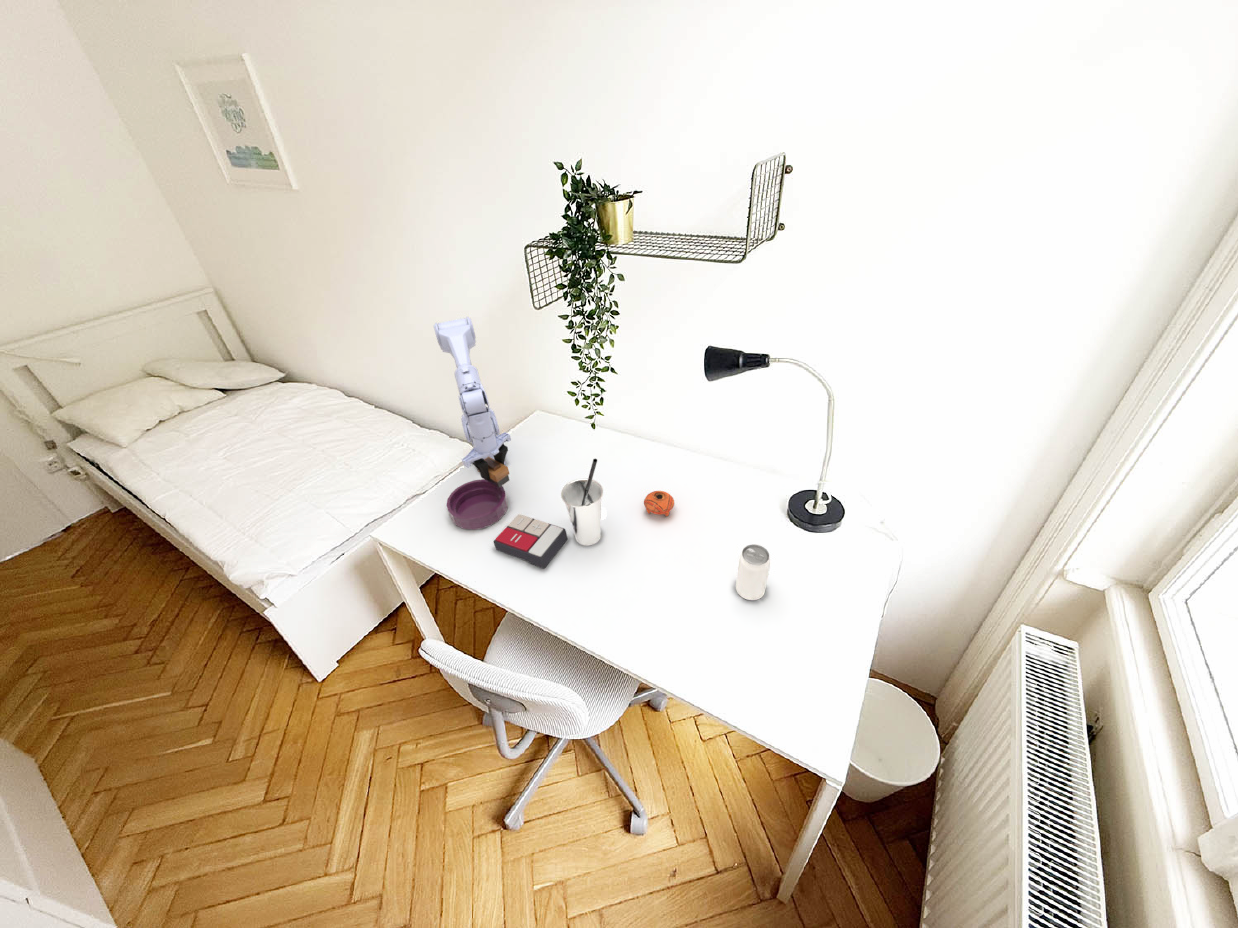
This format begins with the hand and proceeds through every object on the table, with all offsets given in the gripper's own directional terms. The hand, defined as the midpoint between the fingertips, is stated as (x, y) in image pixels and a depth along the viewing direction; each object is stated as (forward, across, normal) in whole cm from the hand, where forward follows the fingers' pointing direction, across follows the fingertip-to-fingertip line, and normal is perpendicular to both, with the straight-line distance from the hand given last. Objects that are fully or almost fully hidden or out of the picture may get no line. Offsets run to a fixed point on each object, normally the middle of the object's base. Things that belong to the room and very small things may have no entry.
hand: (493, 473), depth 142 cm
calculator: (+10, -6, -20) cm, 23 cm away
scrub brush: (+2, 0, 0) cm, 2 cm away
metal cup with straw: (+10, +4, -30) cm, 32 cm away
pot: (+10, +22, -39) cm, 46 cm away
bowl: (+9, -6, +1) cm, 11 cm away
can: (+10, +14, -70) cm, 72 cm away
